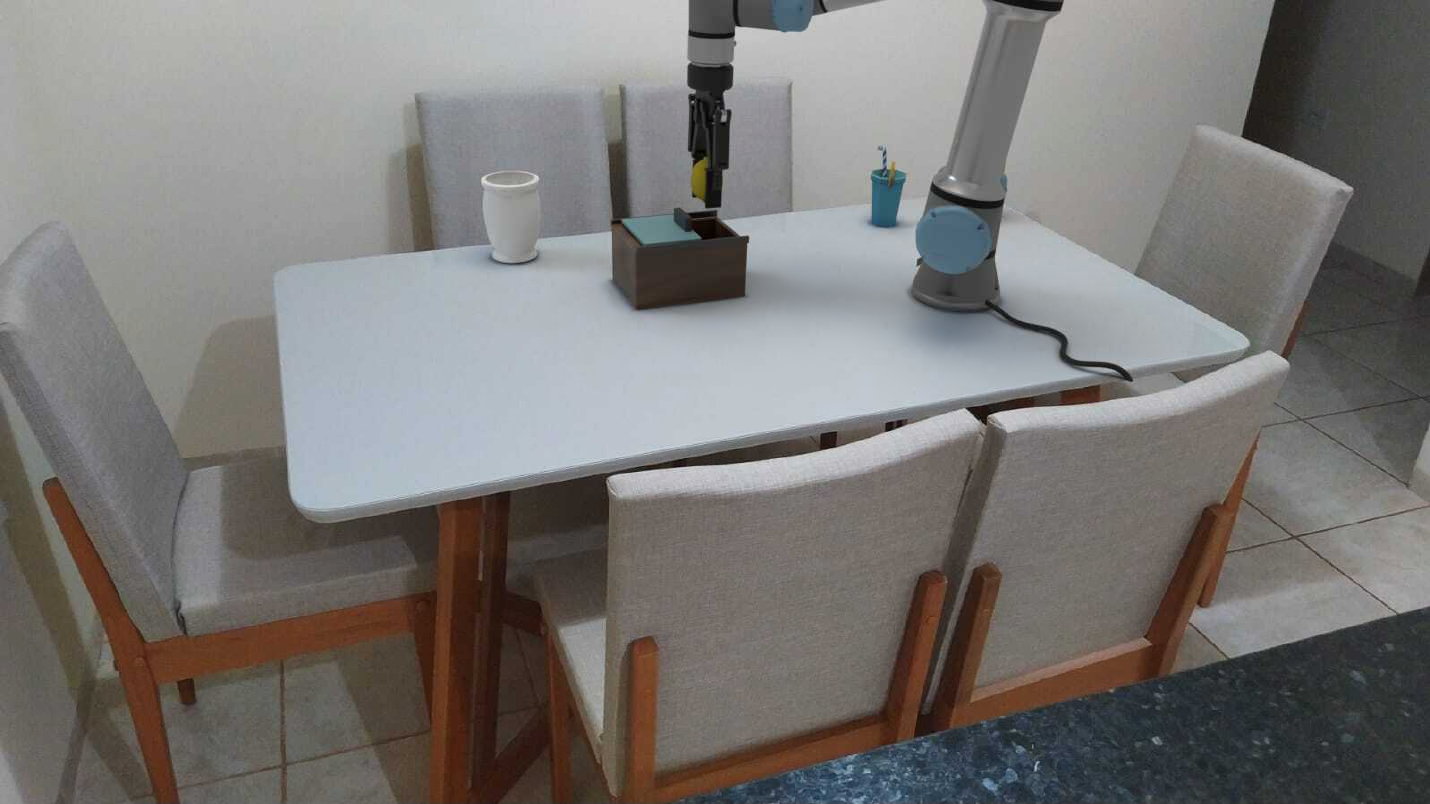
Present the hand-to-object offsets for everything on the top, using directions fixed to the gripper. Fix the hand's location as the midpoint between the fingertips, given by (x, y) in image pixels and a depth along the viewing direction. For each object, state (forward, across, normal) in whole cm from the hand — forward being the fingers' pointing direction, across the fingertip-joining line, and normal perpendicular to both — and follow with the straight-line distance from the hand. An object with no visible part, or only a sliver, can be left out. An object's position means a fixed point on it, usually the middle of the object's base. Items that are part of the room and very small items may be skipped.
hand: (706, 201), depth 180 cm
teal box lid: (+5, 0, +8) cm, 10 cm away
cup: (+16, +22, -49) cm, 56 cm away
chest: (+15, 0, +5) cm, 16 cm away
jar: (+16, +24, +29) cm, 41 cm away
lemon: (+1, 0, 0) cm, 1 cm away
